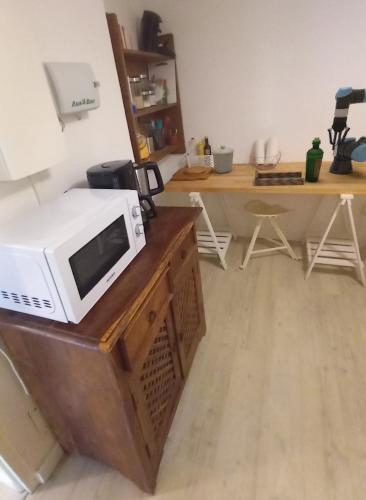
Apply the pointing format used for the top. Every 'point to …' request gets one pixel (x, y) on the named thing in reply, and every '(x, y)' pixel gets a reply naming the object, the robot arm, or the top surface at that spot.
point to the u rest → (278, 178)
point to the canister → (223, 159)
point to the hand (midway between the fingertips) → (334, 155)
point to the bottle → (313, 161)
